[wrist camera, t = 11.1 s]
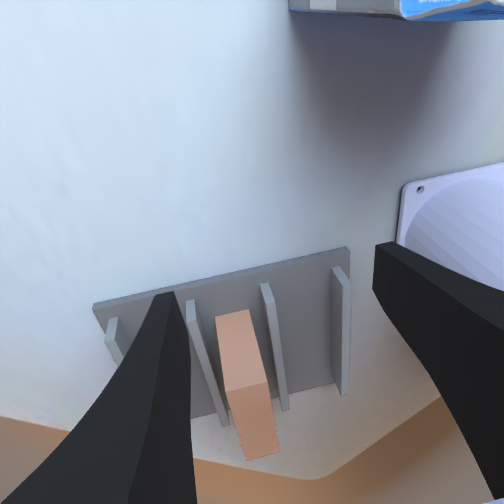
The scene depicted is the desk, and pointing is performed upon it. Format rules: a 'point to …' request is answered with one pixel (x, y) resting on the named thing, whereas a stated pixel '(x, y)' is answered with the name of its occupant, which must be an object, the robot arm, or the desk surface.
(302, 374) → the rack
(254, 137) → the desk surface
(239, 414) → the tile
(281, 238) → the desk surface
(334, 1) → the label tape box
